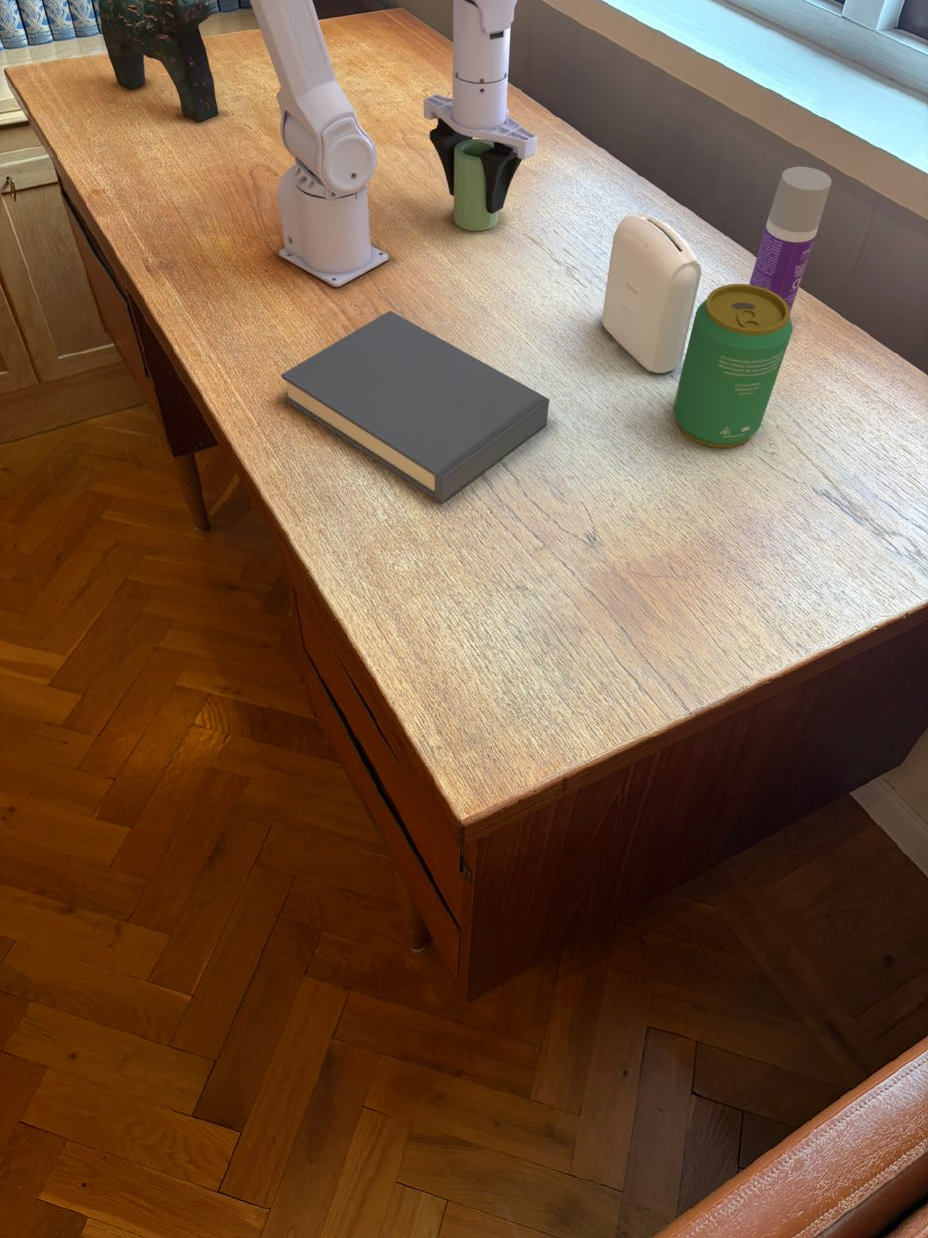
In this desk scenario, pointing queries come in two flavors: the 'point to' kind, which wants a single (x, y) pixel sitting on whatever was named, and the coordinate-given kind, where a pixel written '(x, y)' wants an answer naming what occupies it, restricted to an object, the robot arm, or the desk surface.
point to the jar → (471, 186)
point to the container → (791, 231)
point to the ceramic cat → (161, 47)
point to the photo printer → (650, 291)
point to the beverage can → (731, 364)
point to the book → (416, 404)
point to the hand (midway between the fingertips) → (476, 201)
